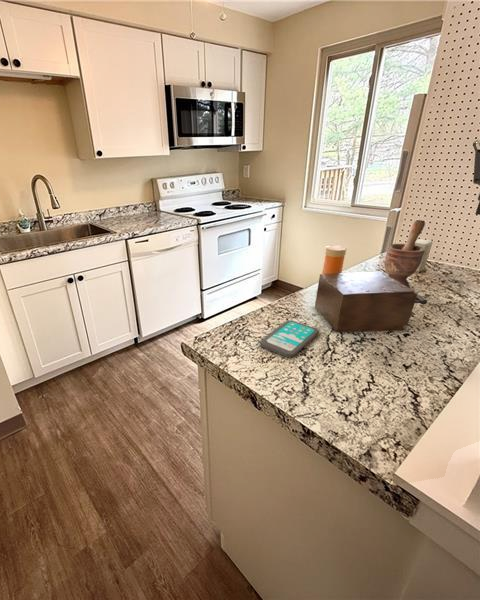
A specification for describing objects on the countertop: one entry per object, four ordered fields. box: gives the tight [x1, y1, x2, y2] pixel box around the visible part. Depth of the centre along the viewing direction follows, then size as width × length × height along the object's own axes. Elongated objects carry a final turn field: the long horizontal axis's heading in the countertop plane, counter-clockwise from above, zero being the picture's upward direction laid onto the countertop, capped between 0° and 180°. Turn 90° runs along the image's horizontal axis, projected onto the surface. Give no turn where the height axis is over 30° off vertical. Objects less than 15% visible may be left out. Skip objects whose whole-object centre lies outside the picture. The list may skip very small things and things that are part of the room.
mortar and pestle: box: [384, 219, 426, 289], centre depth 94 cm, size 12×9×20 cm
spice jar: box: [321, 245, 347, 274], centre depth 95 cm, size 5×5×15 cm
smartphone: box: [260, 320, 319, 358], centre depth 77 cm, size 9×1×15 cm
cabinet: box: [314, 270, 416, 333], centre depth 81 cm, size 16×14×11 cm
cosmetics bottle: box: [415, 238, 434, 273], centre depth 107 cm, size 5×4×10 cm
